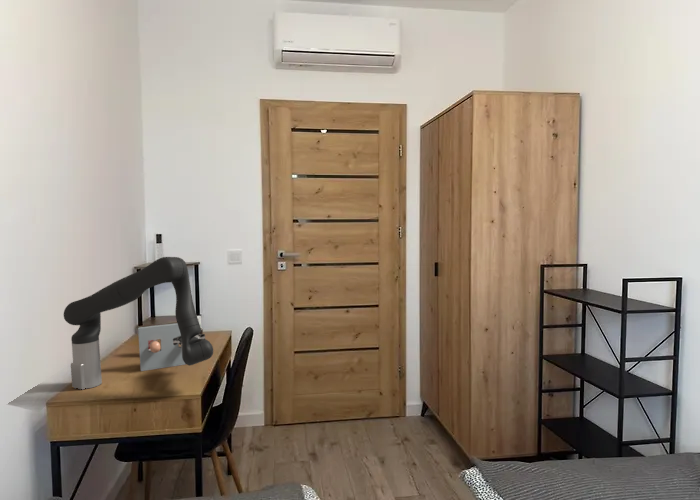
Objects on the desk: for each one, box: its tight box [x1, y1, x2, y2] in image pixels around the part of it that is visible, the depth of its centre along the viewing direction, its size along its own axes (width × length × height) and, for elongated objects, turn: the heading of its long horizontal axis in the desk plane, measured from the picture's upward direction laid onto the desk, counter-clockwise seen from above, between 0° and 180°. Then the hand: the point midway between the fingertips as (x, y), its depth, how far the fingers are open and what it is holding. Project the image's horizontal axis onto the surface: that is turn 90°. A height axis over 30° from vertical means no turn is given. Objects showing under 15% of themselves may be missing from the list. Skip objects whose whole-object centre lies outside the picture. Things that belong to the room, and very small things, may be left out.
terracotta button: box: [150, 340, 161, 353], centre depth 200 cm, size 6×4×4 cm, turn 25°
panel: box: [137, 322, 186, 372], centre depth 208 cm, size 9×24×18 cm, turn 115°
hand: (186, 335), depth 199 cm, fingers closed
